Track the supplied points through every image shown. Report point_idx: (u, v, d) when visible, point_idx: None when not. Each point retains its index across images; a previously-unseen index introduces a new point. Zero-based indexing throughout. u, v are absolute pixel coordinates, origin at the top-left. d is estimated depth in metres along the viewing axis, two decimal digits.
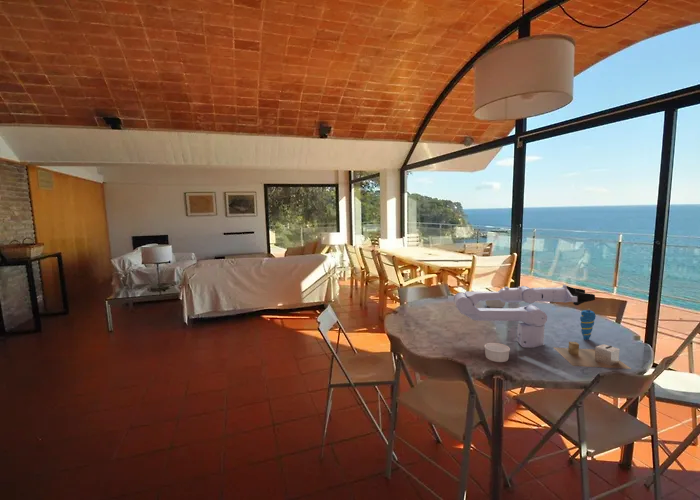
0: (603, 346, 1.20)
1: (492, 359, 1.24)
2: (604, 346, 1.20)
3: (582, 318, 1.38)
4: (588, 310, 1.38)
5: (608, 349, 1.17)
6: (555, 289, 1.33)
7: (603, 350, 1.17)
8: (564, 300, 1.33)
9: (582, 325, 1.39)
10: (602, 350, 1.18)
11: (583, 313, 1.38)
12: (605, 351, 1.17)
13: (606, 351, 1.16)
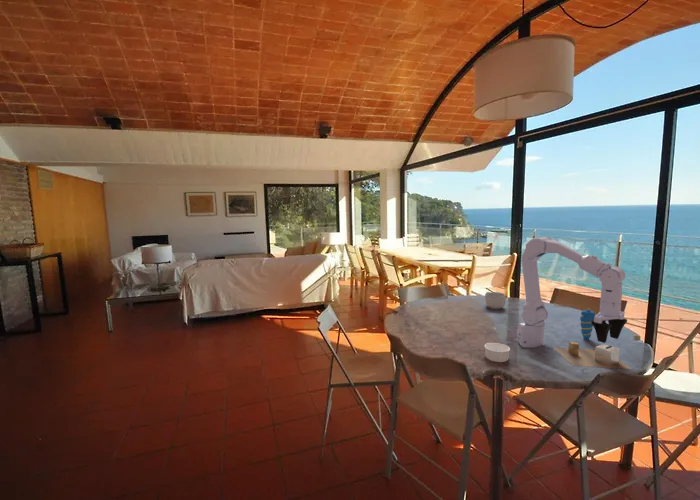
0: (603, 346, 1.20)
1: (492, 359, 1.24)
2: (604, 346, 1.20)
3: (582, 318, 1.38)
4: (588, 310, 1.38)
5: (608, 349, 1.17)
6: (616, 307, 1.14)
7: (603, 350, 1.17)
8: (600, 312, 1.18)
9: (582, 325, 1.39)
10: (602, 350, 1.18)
11: (583, 313, 1.38)
12: (605, 351, 1.17)
13: (606, 351, 1.16)
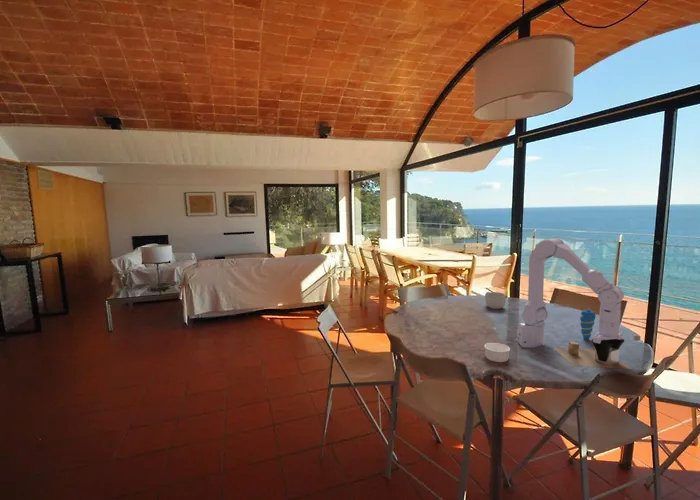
0: None
1: (492, 359, 1.24)
2: None
3: (582, 318, 1.38)
4: (588, 310, 1.38)
5: None
6: (614, 327, 1.15)
7: None
8: (599, 331, 1.18)
9: (582, 325, 1.39)
10: None
11: (583, 313, 1.38)
12: None
13: None
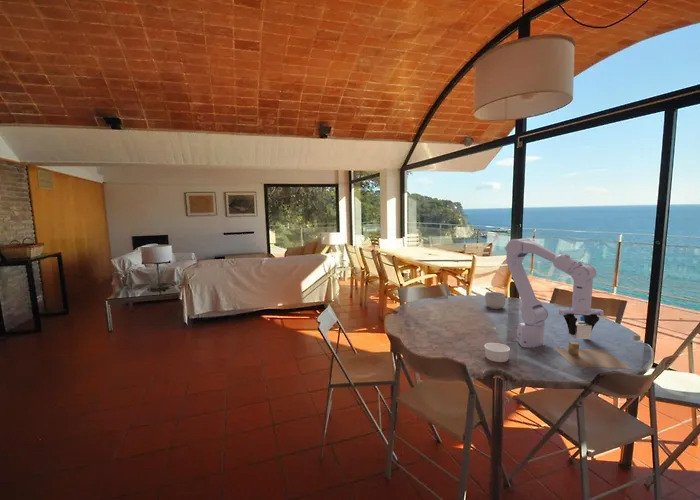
0: (578, 322, 1.25)
1: (492, 359, 1.24)
2: (579, 322, 1.25)
3: (582, 318, 1.38)
4: None
5: (578, 324, 1.23)
6: (581, 302, 1.20)
7: None
8: (572, 307, 1.25)
9: None
10: None
11: None
12: None
13: None
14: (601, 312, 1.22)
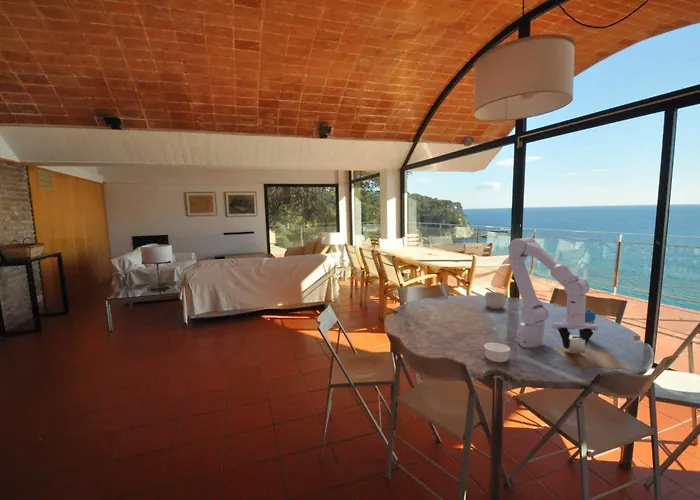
0: (573, 336, 1.27)
1: (492, 359, 1.24)
2: (574, 336, 1.26)
3: None
4: (588, 310, 1.38)
5: (572, 338, 1.25)
6: (574, 317, 1.22)
7: None
8: None
9: None
10: None
11: None
12: None
13: None
14: (595, 327, 1.23)
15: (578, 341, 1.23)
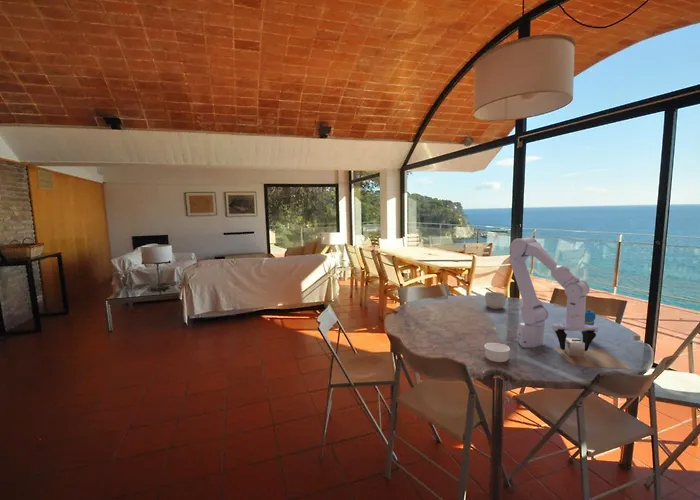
0: (572, 339, 1.27)
1: (492, 359, 1.24)
2: (573, 339, 1.27)
3: None
4: (588, 310, 1.38)
5: (571, 341, 1.25)
6: (574, 318, 1.22)
7: (566, 341, 1.26)
8: None
9: None
10: (566, 341, 1.26)
11: None
12: (567, 342, 1.25)
13: (568, 342, 1.25)
14: (595, 328, 1.23)
15: (578, 344, 1.23)
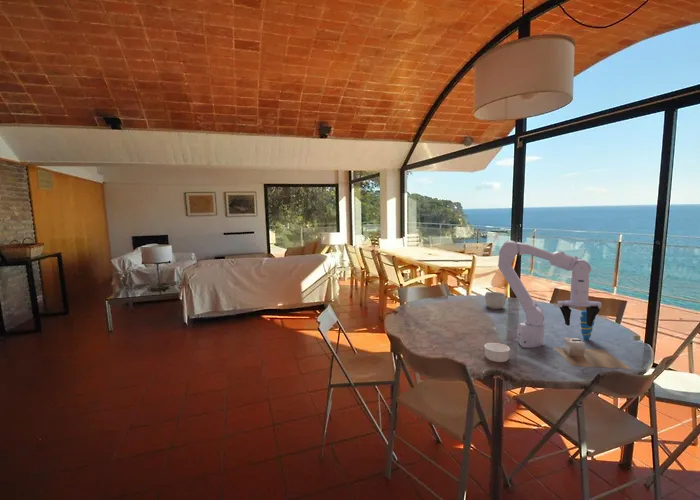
0: (572, 339, 1.27)
1: (492, 359, 1.24)
2: (573, 339, 1.27)
3: (582, 318, 1.38)
4: None
5: (571, 341, 1.25)
6: (578, 294, 1.27)
7: (566, 341, 1.26)
8: None
9: (582, 325, 1.39)
10: (566, 341, 1.26)
11: (583, 313, 1.38)
12: (567, 342, 1.25)
13: (568, 342, 1.25)
14: (599, 304, 1.28)
15: (578, 344, 1.23)
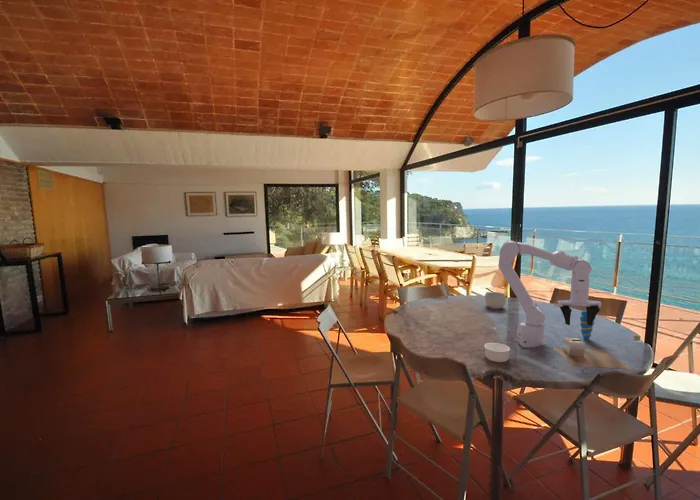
0: (572, 339, 1.27)
1: (492, 359, 1.24)
2: (573, 339, 1.27)
3: (582, 318, 1.38)
4: None
5: (571, 341, 1.25)
6: (578, 294, 1.28)
7: (566, 341, 1.26)
8: None
9: (582, 325, 1.39)
10: (566, 341, 1.26)
11: (583, 313, 1.38)
12: (567, 342, 1.25)
13: (568, 342, 1.25)
14: (599, 303, 1.28)
15: (578, 344, 1.23)
